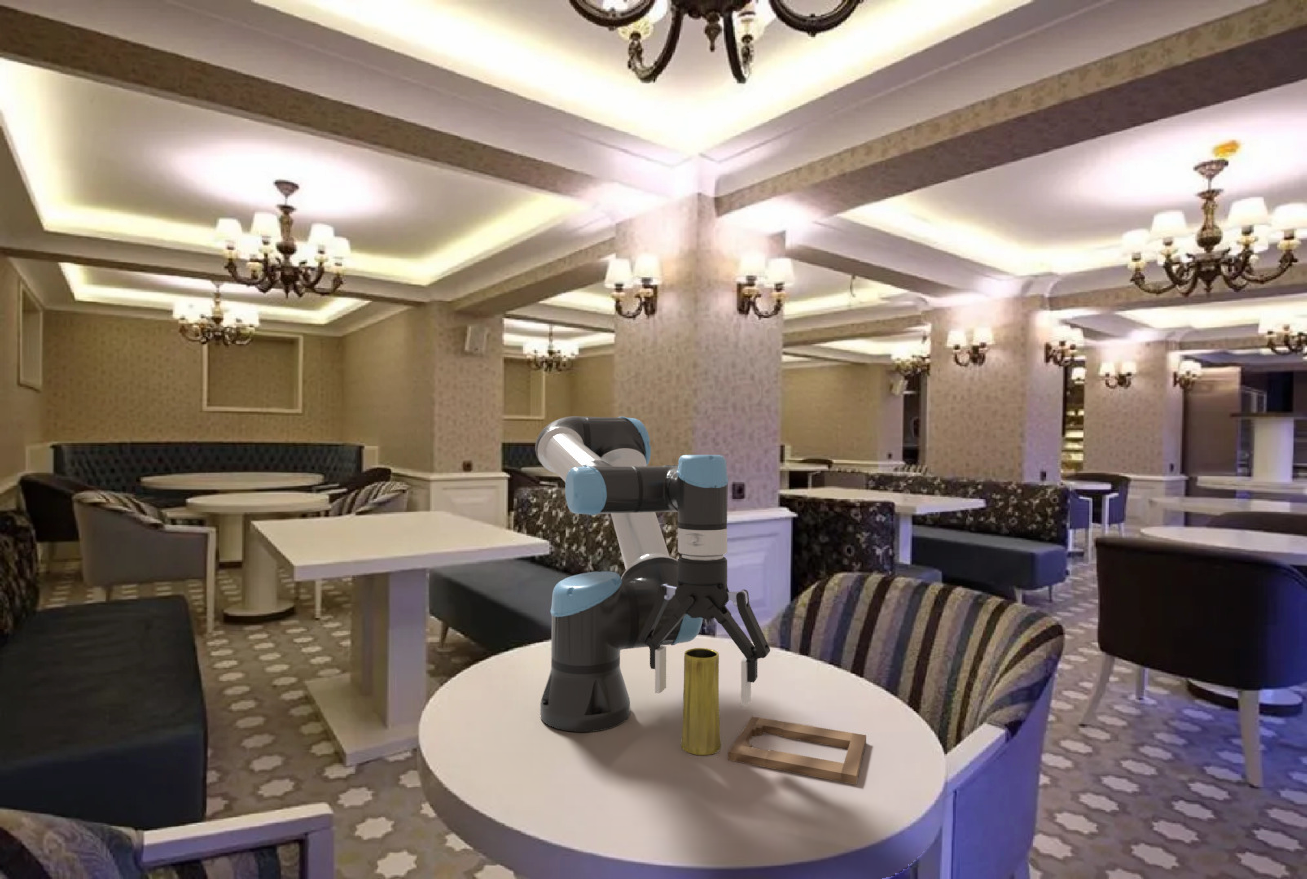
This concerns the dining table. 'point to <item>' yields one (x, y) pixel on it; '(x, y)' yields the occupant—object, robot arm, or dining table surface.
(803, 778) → the dining table surface
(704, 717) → the vase
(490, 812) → the dining table surface
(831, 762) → the keyhole board
